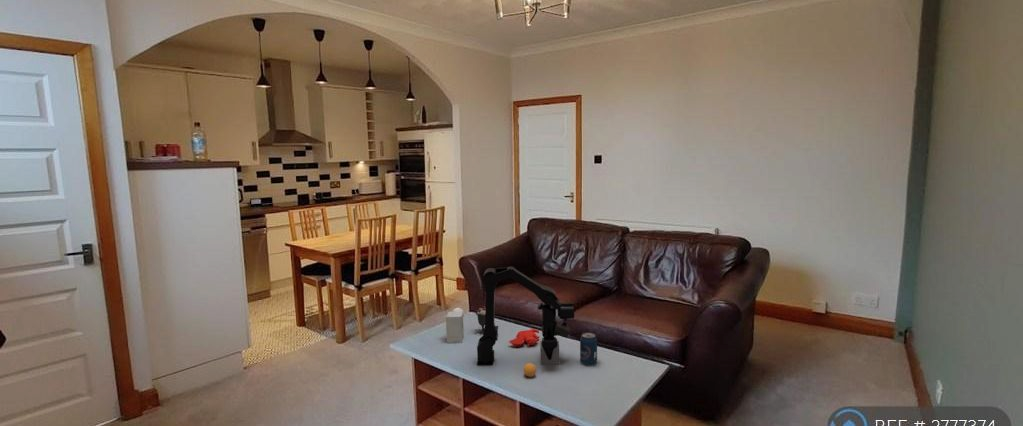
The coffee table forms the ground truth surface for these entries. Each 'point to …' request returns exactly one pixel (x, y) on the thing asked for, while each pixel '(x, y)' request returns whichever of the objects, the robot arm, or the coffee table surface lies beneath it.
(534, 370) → the ball
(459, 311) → the lightbulb
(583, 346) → the soda can
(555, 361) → the grey cube
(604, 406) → the coffee table surface
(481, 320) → the sundae
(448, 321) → the supplement box
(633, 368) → the coffee table surface
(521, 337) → the animal figurine
